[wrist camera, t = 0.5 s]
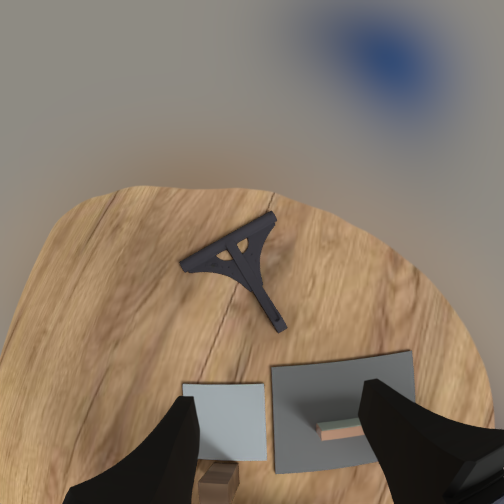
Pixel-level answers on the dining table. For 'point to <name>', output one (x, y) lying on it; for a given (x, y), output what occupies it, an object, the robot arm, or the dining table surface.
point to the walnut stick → (219, 484)
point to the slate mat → (329, 409)
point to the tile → (339, 429)
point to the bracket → (240, 262)
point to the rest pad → (230, 421)
